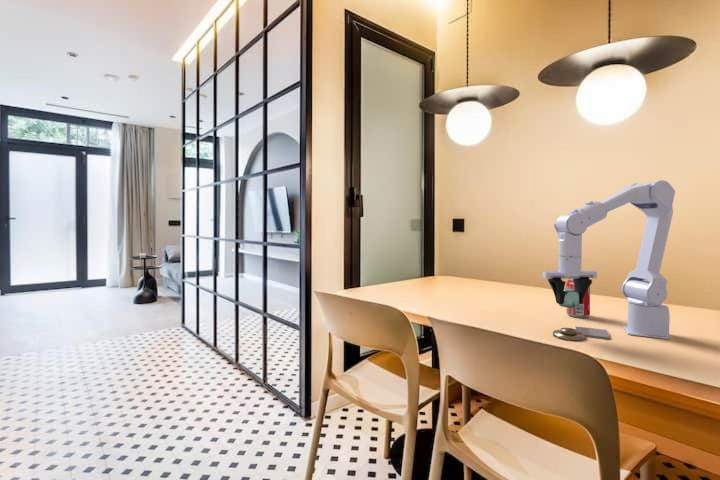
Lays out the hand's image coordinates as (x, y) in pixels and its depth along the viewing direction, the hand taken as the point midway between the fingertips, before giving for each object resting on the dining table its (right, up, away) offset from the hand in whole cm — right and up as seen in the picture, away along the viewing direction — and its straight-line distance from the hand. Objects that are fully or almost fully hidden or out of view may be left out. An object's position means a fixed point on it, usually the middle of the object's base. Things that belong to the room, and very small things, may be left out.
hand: (569, 303), depth 105 cm
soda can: (+16, -8, +23) cm, 29 cm away
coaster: (+8, -9, +3) cm, 13 cm away
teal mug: (0, -1, 0) cm, 1 cm away
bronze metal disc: (0, -10, +1) cm, 10 cm away
